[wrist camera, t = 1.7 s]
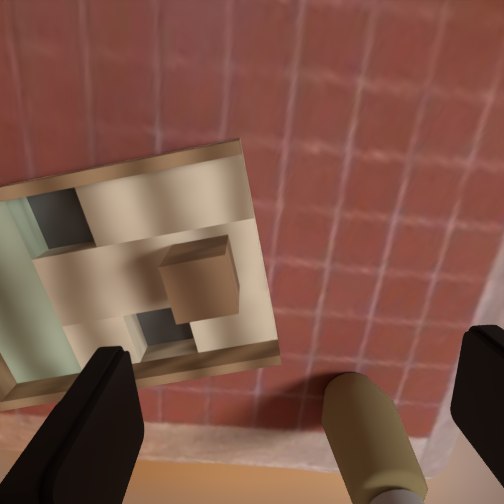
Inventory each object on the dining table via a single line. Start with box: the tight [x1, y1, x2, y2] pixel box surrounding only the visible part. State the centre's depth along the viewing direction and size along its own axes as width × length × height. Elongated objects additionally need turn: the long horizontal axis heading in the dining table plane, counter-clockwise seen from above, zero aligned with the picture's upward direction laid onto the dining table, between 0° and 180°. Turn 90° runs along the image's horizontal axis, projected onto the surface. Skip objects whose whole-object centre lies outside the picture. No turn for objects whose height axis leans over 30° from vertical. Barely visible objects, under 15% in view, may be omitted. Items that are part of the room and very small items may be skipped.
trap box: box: [0, 138, 282, 411], centre depth 30 cm, size 28×20×6 cm
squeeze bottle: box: [321, 373, 428, 504], centre depth 30 cm, size 8×8×18 cm
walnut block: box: [158, 235, 240, 325], centre depth 27 cm, size 5×5×5 cm
